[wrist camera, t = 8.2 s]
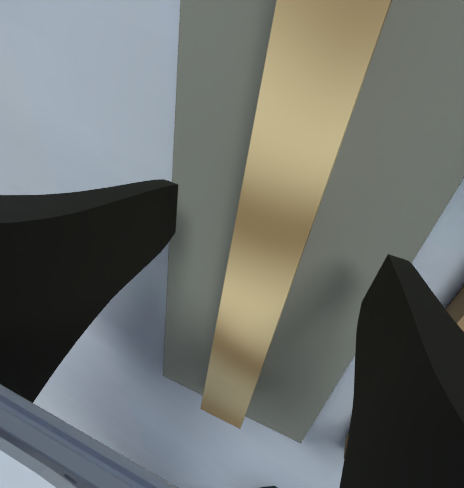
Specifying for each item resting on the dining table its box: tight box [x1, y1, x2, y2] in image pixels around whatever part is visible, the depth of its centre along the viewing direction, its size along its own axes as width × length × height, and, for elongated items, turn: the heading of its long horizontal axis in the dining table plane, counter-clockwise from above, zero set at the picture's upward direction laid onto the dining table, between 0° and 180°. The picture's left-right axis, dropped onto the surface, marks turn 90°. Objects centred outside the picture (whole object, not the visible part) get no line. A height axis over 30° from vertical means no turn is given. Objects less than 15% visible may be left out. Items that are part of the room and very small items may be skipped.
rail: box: [201, 0, 392, 429], centre depth 12 cm, size 24×2×2 cm, turn 171°
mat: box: [163, 0, 464, 443], centre depth 13 cm, size 30×10×1 cm, turn 171°
